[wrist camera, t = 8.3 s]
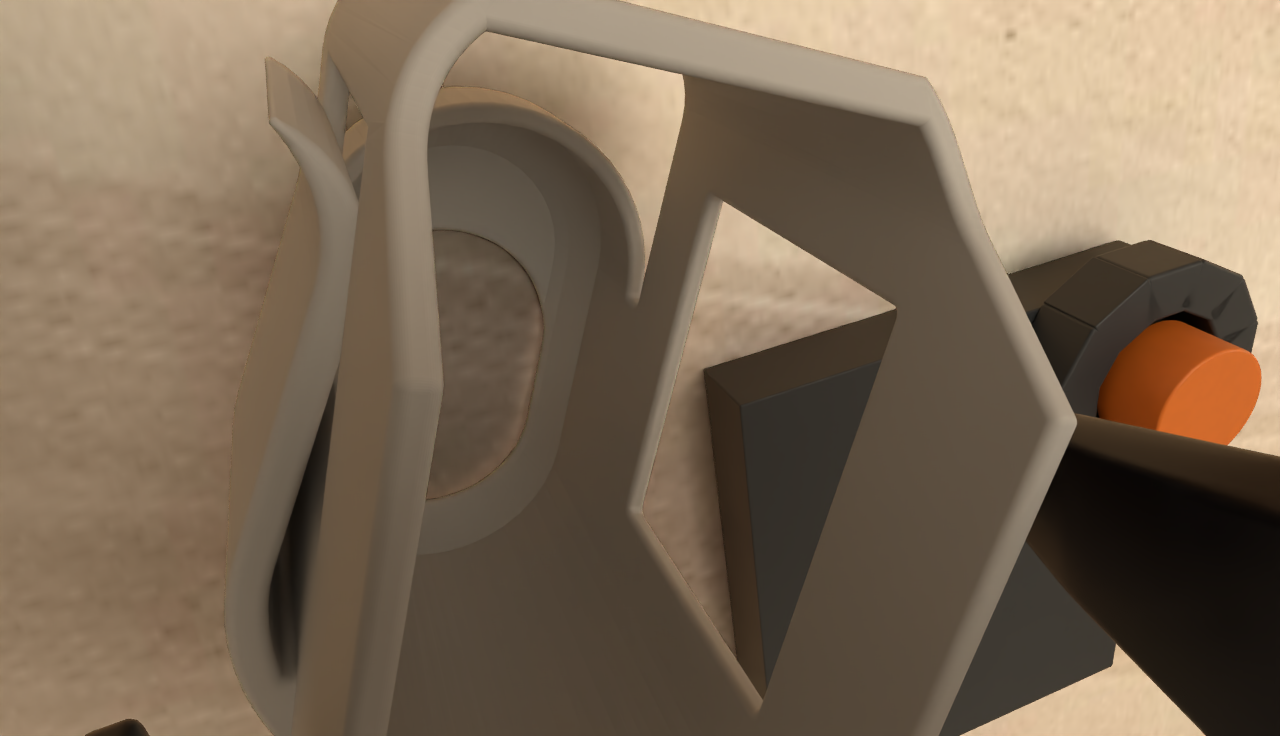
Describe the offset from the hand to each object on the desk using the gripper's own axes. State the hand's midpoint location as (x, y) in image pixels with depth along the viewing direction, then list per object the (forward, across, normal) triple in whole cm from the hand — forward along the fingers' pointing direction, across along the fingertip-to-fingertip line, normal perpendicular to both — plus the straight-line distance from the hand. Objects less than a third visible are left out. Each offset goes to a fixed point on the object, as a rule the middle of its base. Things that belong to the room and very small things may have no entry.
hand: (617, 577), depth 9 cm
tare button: (+7, -15, +6) cm, 18 cm away
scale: (+10, -11, +11) cm, 19 cm away
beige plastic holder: (+10, 0, 0) cm, 10 cm away
